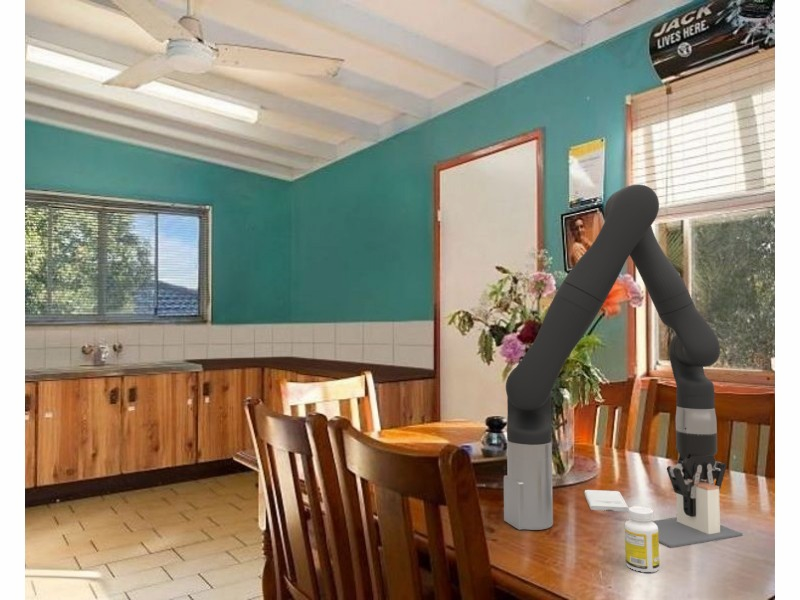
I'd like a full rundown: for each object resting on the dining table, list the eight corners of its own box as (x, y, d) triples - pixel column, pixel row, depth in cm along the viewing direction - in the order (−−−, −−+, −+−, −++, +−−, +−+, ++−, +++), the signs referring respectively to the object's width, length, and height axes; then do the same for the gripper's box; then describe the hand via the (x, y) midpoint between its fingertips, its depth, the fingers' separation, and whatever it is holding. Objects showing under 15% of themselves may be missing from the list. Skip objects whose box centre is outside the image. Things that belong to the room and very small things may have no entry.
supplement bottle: (650, 560, 106) (649, 504, 106) (665, 573, 100) (664, 514, 101) (620, 561, 106) (619, 505, 106) (633, 574, 100) (632, 515, 101)
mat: (670, 547, 111) (670, 545, 111) (625, 527, 123) (625, 525, 123) (742, 535, 118) (742, 533, 118) (693, 516, 129) (693, 514, 129)
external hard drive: (619, 497, 145) (629, 514, 132) (584, 496, 146) (590, 512, 134) (619, 491, 145) (629, 506, 133) (584, 489, 146) (590, 504, 134)
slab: (708, 534, 117) (707, 487, 117) (676, 521, 125) (675, 477, 125) (720, 532, 118) (719, 486, 119) (688, 519, 126) (687, 476, 126)
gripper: (683, 435, 116) (685, 524, 116) (737, 430, 121) (739, 516, 120) (654, 428, 123) (656, 512, 123) (707, 424, 128) (709, 505, 127)
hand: (697, 514), depth 122 cm, fingers open, 3 cm apart
